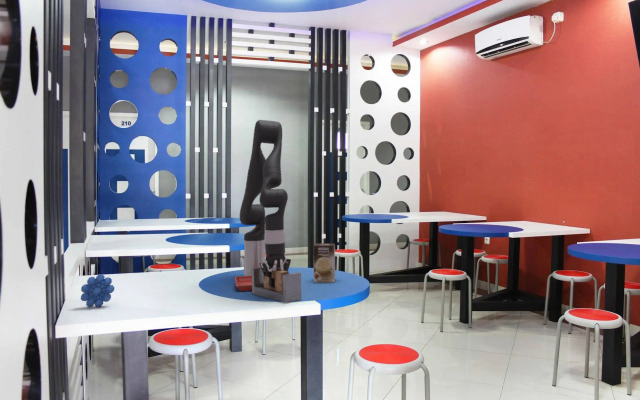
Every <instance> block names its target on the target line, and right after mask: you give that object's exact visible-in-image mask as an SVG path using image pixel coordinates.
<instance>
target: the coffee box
mask: <svg viewBox="0 0 640 400" xmlns="http://www.w3.org/2000/svg"><path fill="white" fill-rule="evenodd" d="M335 281H336V243H314V244H313V283H314V284H315V283H323V284H325V283H326V284H327V283H330V284H331V283H333V284H334V283H335Z"/></svg>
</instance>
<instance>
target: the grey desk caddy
mask: <svg viewBox="0 0 640 400" xmlns="http://www.w3.org/2000/svg"><path fill="white" fill-rule="evenodd" d="M267 268H268V265H267ZM251 294H252V295H255V296H259V297H263V298H265V299H269V300H270V299H271V300H274V301H278V302H281V303H285V304H287V303H292V302H296V301H297V302H298V301H300V300H301V301H302V273H301V272H292V273H289V274H286V275H283V292H279V291H275V290H271V289H266V288H264V274H263V272H262V269H261V267H258V268H252V293H251Z"/></svg>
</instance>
